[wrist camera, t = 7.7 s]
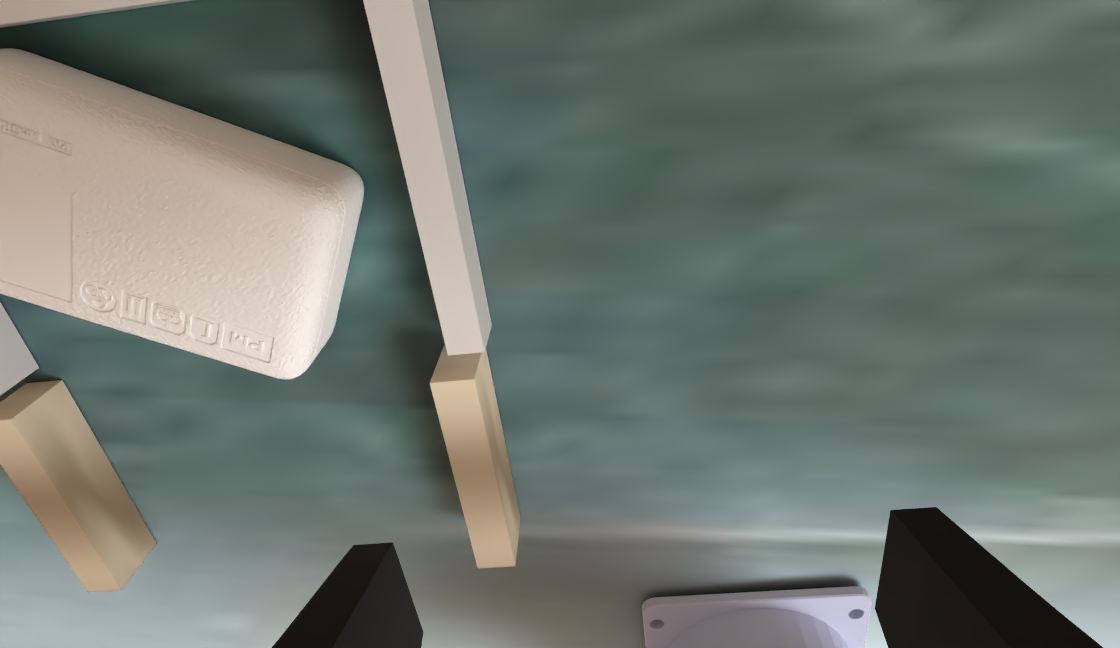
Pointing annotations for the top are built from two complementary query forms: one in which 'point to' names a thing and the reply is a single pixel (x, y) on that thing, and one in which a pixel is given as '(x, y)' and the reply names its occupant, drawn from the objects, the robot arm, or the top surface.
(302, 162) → the soap
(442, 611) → the top surface
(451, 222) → the white frame
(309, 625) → the robot arm
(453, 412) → the slot
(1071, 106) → the top surface
